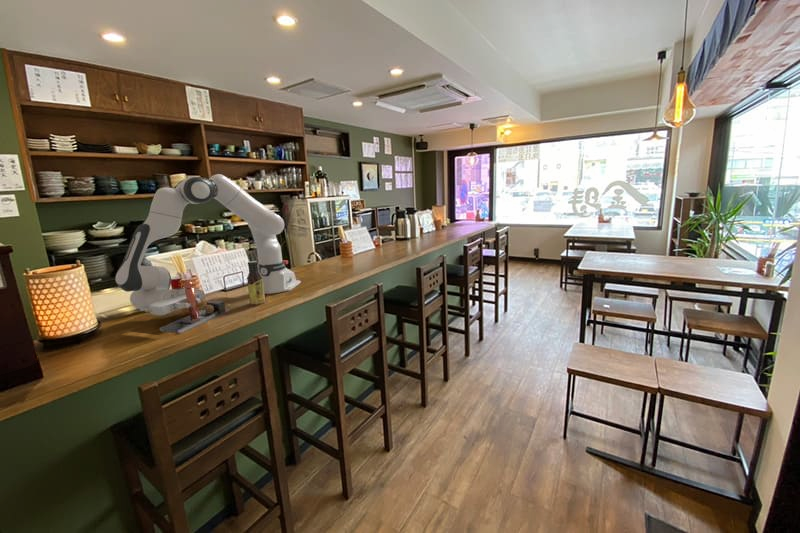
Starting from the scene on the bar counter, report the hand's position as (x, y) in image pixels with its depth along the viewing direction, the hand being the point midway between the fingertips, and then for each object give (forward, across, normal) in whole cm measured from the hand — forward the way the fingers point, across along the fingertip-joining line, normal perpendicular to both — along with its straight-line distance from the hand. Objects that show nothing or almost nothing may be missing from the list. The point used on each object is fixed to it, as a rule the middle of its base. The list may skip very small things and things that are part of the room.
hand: (194, 303), depth 134 cm
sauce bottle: (+10, +23, +9) cm, 26 cm away
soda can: (-32, +20, +9) cm, 39 cm away
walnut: (-1, +7, +7) cm, 10 cm away
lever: (-1, +1, +7) cm, 7 cm away
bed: (-1, +1, +8) cm, 9 cm away
